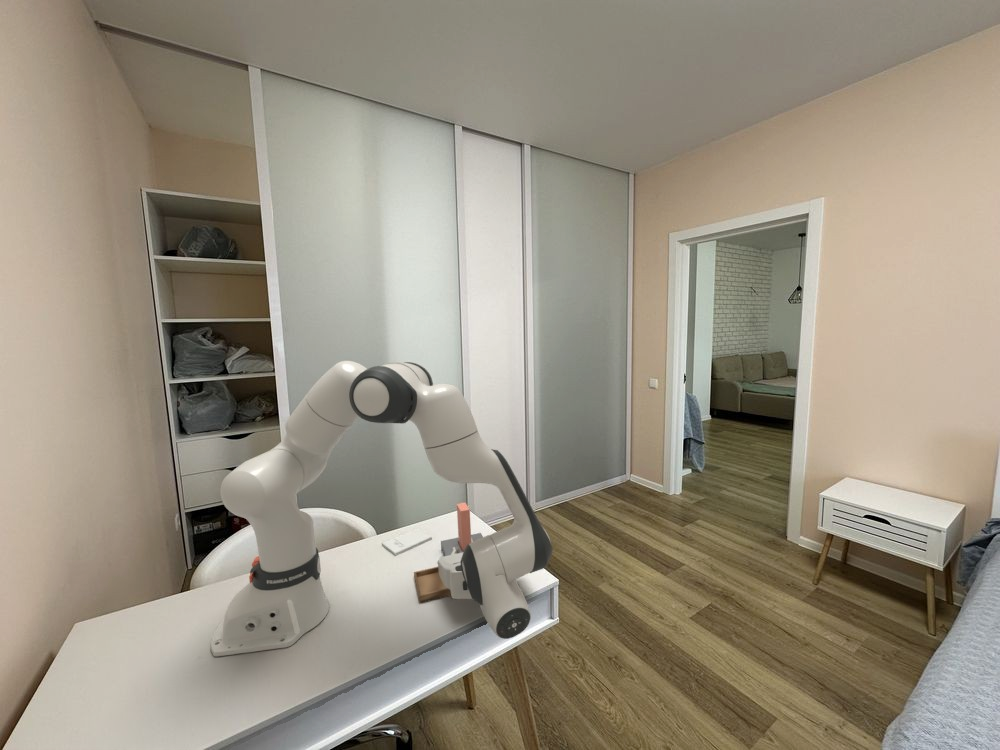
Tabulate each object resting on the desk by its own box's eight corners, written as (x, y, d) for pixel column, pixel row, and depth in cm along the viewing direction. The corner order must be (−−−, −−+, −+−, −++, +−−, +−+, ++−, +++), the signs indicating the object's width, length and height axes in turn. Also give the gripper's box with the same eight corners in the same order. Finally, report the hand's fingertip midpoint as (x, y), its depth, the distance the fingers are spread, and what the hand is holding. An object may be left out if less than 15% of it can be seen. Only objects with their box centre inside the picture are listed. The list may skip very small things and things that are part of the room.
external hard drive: (432, 541, 122) (395, 558, 113) (417, 532, 128) (381, 547, 119) (431, 536, 122) (394, 552, 113) (417, 527, 128) (381, 542, 119)
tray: (419, 603, 93) (418, 596, 93) (414, 578, 102) (413, 572, 102) (461, 592, 96) (460, 585, 96) (452, 569, 106) (452, 563, 105)
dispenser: (448, 568, 106) (447, 557, 106) (441, 549, 116) (440, 539, 115) (491, 558, 110) (490, 548, 110) (481, 541, 119) (480, 531, 119)
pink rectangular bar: (463, 559, 110) (460, 511, 109) (459, 550, 115) (456, 503, 113) (472, 557, 111) (469, 509, 109) (467, 548, 116) (465, 502, 114)
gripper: (531, 553, 92) (511, 526, 105) (443, 573, 86) (433, 541, 99) (532, 579, 93) (511, 548, 106) (445, 600, 86) (434, 565, 99)
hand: (473, 545), depth 102 cm, fingers open, 8 cm apart
